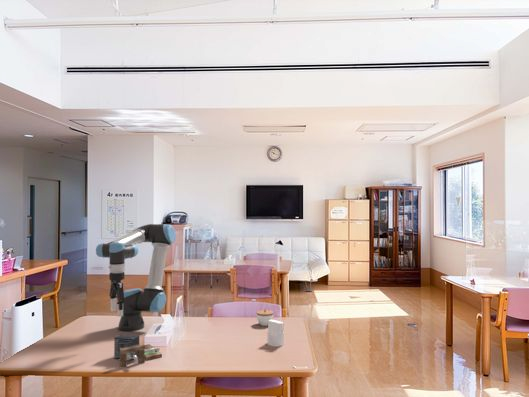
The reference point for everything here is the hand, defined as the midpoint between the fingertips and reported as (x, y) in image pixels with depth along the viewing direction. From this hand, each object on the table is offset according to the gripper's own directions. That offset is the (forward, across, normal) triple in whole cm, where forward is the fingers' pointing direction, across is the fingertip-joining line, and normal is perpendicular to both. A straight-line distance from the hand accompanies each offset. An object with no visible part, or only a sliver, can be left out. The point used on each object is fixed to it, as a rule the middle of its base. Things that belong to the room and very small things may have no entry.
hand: (116, 313), depth 219 cm
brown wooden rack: (+17, +27, +5) cm, 32 cm away
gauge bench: (+18, +17, +5) cm, 26 cm away
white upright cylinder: (+19, +41, +73) cm, 86 cm away
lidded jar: (+19, +8, +89) cm, 91 cm away
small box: (+19, +16, +1) cm, 24 cm away
